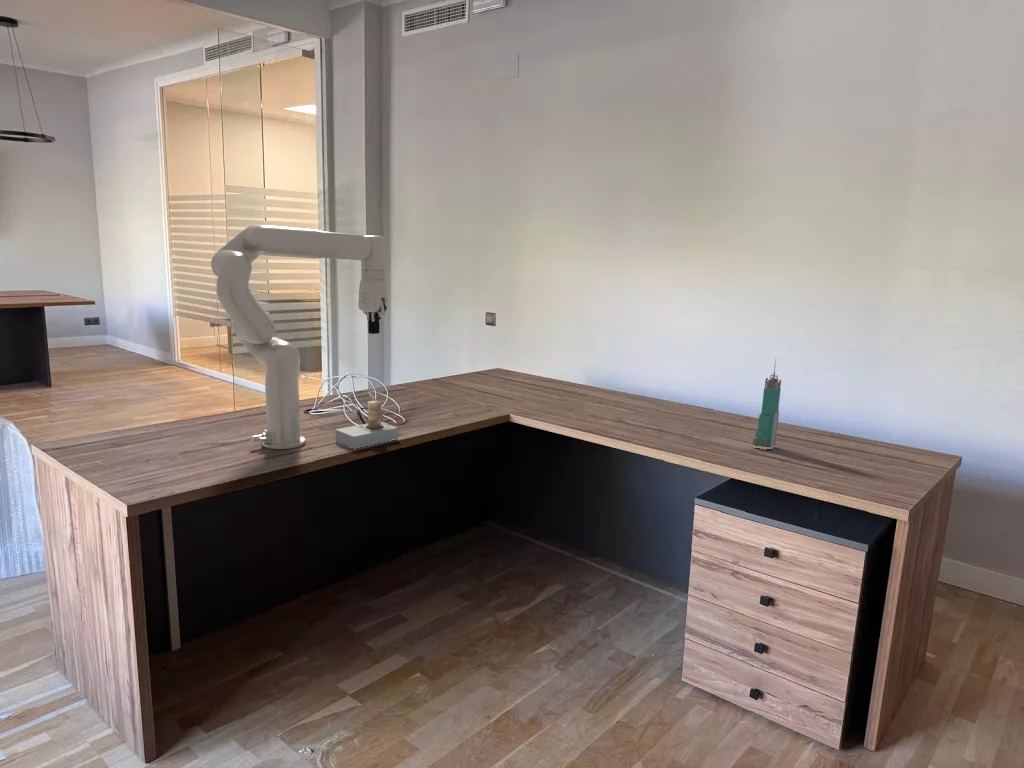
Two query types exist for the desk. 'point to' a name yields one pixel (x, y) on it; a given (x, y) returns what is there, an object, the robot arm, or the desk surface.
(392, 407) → the desk surface
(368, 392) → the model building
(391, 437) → the board
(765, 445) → the building
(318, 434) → the desk surface
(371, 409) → the peg
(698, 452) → the desk surface
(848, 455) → the desk surface
